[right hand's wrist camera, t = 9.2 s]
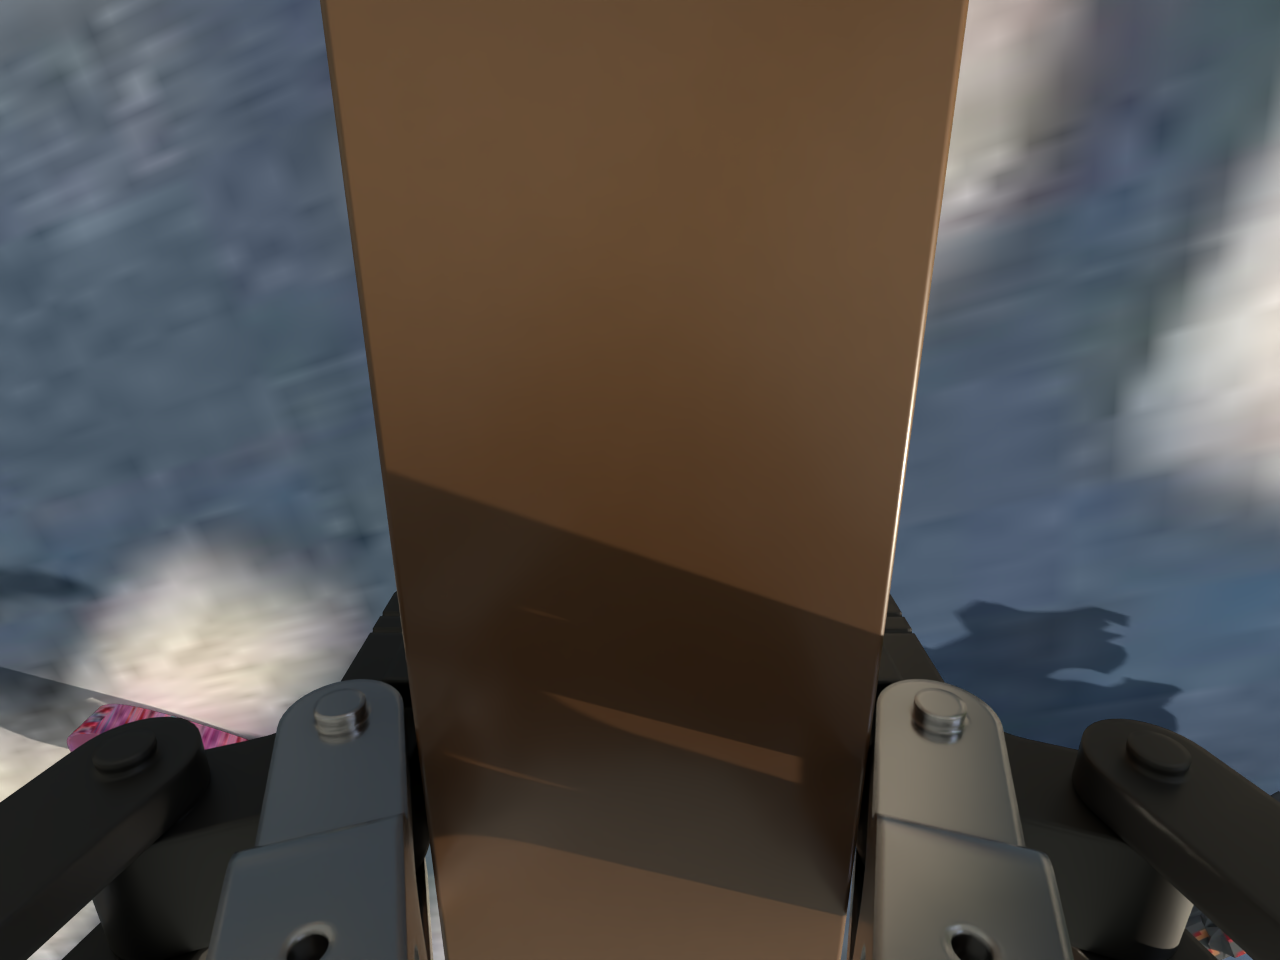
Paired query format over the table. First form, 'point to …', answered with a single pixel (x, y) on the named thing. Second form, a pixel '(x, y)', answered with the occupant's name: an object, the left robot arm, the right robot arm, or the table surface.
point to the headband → (123, 714)
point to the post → (643, 441)
